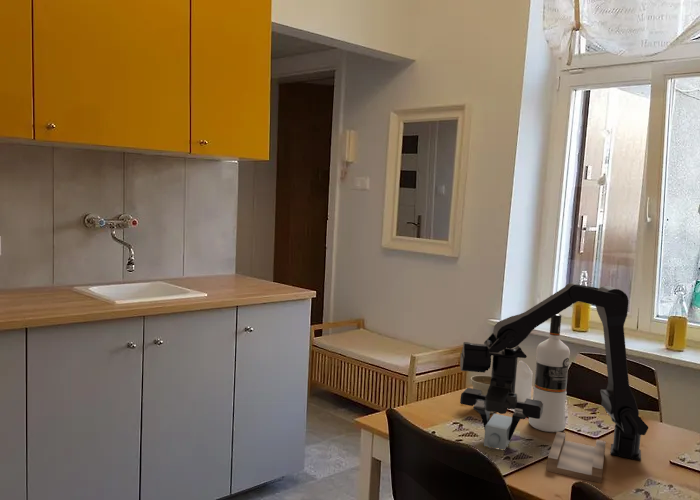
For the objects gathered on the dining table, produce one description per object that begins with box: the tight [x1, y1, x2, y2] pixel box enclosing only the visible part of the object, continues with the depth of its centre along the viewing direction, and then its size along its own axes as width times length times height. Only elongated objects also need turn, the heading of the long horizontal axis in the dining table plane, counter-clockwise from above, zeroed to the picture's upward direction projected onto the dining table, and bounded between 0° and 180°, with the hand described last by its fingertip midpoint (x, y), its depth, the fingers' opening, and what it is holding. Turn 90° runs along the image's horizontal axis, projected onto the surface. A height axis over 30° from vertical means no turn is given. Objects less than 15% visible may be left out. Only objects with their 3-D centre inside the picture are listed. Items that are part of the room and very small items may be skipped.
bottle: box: [483, 413, 514, 450], centre depth 147 cm, size 13×5×5 cm, turn 155°
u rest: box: [546, 431, 606, 484], centre depth 139 cm, size 18×11×3 cm, turn 155°
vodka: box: [528, 313, 571, 433], centre depth 160 cm, size 9×9×30 cm
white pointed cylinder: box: [515, 360, 534, 402], centre depth 183 cm, size 6×12×6 cm
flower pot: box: [470, 374, 495, 414], centre depth 171 cm, size 9×9×9 cm
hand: (498, 437), depth 148 cm, fingers closed on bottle, 5 cm apart
